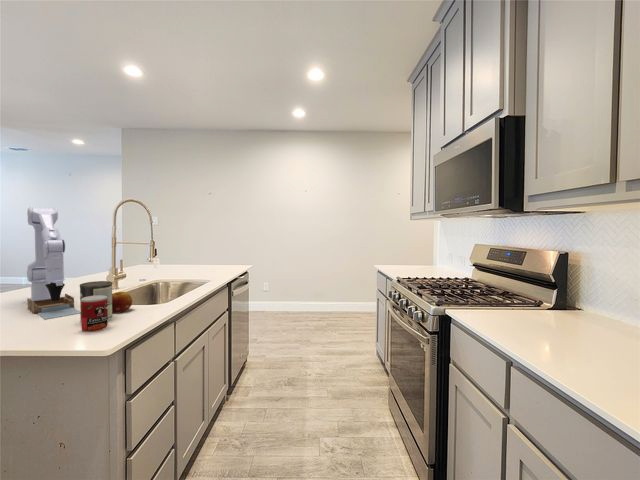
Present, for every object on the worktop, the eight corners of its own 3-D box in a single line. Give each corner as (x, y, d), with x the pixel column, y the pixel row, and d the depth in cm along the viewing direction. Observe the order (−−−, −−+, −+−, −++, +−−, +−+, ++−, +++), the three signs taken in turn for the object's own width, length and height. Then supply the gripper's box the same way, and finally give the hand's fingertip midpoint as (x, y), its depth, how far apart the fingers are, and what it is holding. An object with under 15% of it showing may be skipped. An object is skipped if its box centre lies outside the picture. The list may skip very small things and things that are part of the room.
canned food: (87, 333, 105) (86, 301, 105) (77, 328, 109) (76, 298, 109) (112, 327, 112) (111, 297, 111) (101, 323, 116) (101, 294, 115)
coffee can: (76, 324, 114) (75, 286, 113) (84, 317, 123) (83, 281, 122) (110, 321, 118) (109, 285, 117) (114, 314, 127) (114, 280, 127)
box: (27, 308, 133) (27, 298, 132) (65, 302, 143) (65, 293, 143) (34, 314, 125) (34, 303, 125) (74, 307, 136) (73, 297, 136)
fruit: (103, 315, 126) (102, 295, 126) (108, 309, 134) (108, 291, 134) (130, 313, 130) (130, 294, 129) (134, 307, 138) (134, 289, 138)
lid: (37, 314, 126) (37, 309, 126) (72, 309, 135) (72, 303, 135) (44, 321, 119) (44, 314, 119) (81, 314, 128) (81, 308, 128)
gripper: (37, 267, 130) (38, 299, 131) (46, 271, 122) (47, 305, 122) (59, 265, 136) (59, 296, 137) (69, 269, 127) (69, 302, 128)
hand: (55, 300), depth 130 cm, fingers closed
